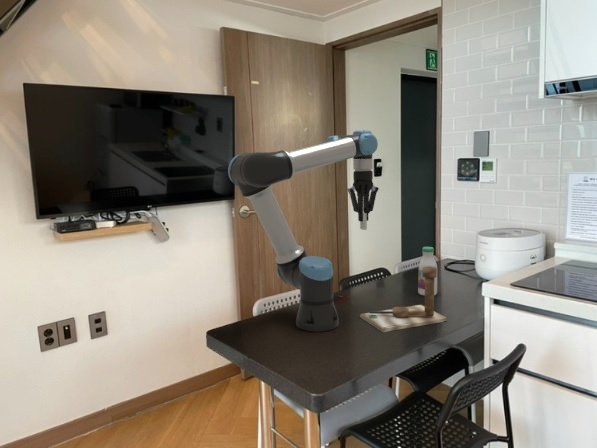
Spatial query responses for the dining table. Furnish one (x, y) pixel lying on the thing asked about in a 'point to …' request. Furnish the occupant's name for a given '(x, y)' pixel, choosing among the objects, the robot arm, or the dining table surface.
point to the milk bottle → (425, 261)
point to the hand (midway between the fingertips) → (363, 229)
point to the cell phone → (339, 298)
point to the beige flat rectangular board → (401, 320)
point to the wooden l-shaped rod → (429, 276)
